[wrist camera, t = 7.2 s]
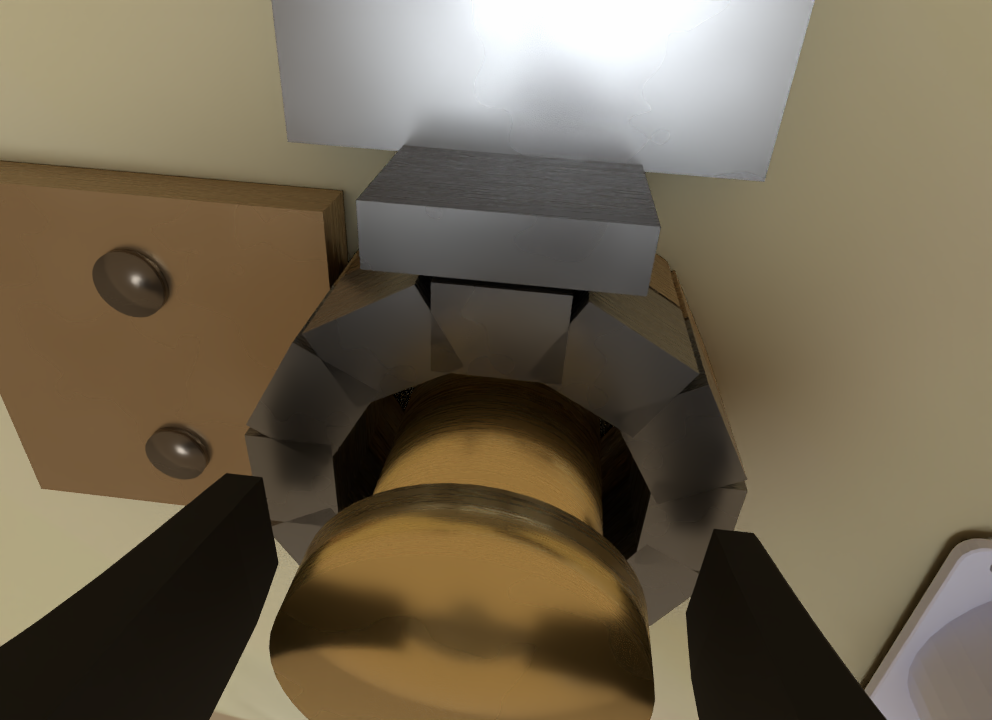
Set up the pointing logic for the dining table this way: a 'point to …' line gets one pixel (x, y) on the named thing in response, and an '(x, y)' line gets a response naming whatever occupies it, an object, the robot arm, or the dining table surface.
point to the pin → (471, 574)
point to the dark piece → (523, 236)
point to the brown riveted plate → (171, 323)
